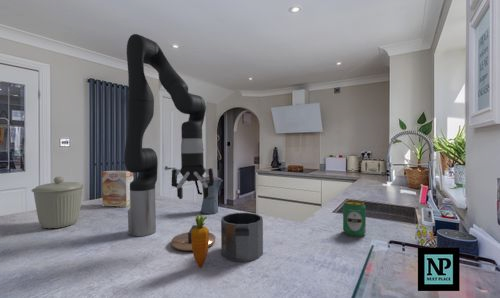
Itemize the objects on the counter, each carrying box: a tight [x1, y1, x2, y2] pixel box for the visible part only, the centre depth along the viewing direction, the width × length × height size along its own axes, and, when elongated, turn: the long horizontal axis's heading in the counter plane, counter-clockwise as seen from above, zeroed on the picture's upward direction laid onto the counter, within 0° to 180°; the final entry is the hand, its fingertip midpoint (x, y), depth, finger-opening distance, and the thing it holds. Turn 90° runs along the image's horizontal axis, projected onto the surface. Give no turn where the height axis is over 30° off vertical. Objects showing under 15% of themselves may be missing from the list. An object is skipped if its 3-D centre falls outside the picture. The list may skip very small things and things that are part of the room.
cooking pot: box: [220, 212, 264, 263], centre depth 81 cm, size 13×17×11 cm
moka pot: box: [194, 176, 224, 215], centre depth 129 cm, size 10×15×20 cm, turn 78°
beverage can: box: [342, 199, 367, 238], centre depth 98 cm, size 8×8×12 cm
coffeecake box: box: [101, 170, 134, 208], centre depth 144 cm, size 15×7×20 cm, turn 81°
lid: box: [170, 224, 216, 252], centre depth 89 cm, size 15×15×5 cm
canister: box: [31, 176, 85, 230], centre depth 110 cm, size 18×18×21 cm
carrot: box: [191, 214, 210, 268], centre depth 72 cm, size 5×5×15 cm
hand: (193, 198), depth 88 cm, fingers open, 8 cm apart
